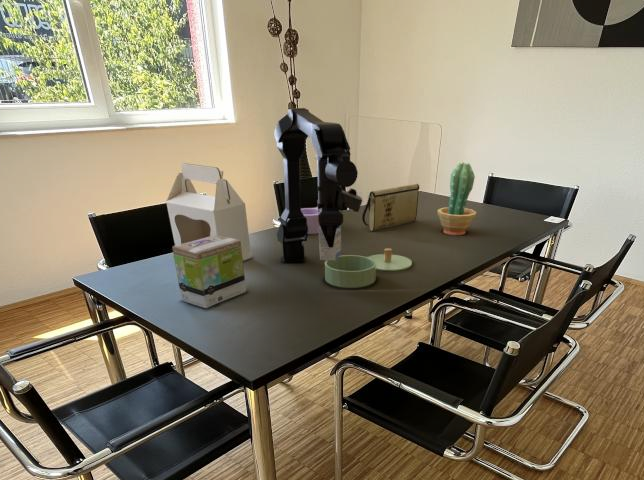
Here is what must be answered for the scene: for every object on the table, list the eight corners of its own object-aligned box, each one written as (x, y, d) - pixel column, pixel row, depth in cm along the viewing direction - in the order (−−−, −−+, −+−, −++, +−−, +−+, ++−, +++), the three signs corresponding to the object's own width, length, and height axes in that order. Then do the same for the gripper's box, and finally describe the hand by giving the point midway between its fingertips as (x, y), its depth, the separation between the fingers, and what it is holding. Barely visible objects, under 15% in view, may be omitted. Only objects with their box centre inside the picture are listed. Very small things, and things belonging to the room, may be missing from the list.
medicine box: (335, 261, 127) (334, 228, 122) (319, 260, 128) (318, 227, 123) (341, 253, 133) (341, 221, 129) (326, 252, 134) (325, 220, 129)
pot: (325, 289, 135) (325, 271, 132) (324, 271, 147) (324, 255, 145) (377, 289, 136) (378, 271, 133) (372, 271, 148) (373, 254, 146)
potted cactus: (479, 230, 191) (490, 162, 177) (465, 239, 180) (475, 167, 166) (444, 225, 198) (451, 159, 184) (428, 233, 187) (435, 163, 173)
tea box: (207, 309, 122) (197, 252, 114) (181, 301, 126) (169, 246, 118) (247, 292, 133) (241, 238, 124) (222, 285, 137) (214, 233, 129)
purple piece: (322, 221, 200) (321, 204, 196) (342, 227, 193) (342, 209, 189) (285, 230, 188) (284, 212, 184) (306, 236, 181) (305, 217, 177)
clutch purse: (407, 218, 207) (409, 181, 199) (419, 221, 203) (422, 183, 194) (357, 229, 190) (358, 189, 182) (369, 233, 186) (370, 192, 178)
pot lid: (365, 273, 147) (365, 257, 144) (361, 257, 160) (361, 242, 157) (415, 272, 148) (417, 256, 145) (407, 257, 161) (408, 242, 158)
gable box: (252, 258, 158) (241, 166, 142) (223, 268, 149) (208, 171, 133) (206, 247, 168) (191, 159, 152) (176, 256, 158) (157, 164, 143)
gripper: (363, 187, 113) (362, 252, 121) (357, 174, 128) (356, 233, 137) (317, 187, 112) (319, 253, 120) (316, 174, 127) (318, 233, 136)
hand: (330, 242), depth 128 cm, fingers closed on medicine box, 8 cm apart
